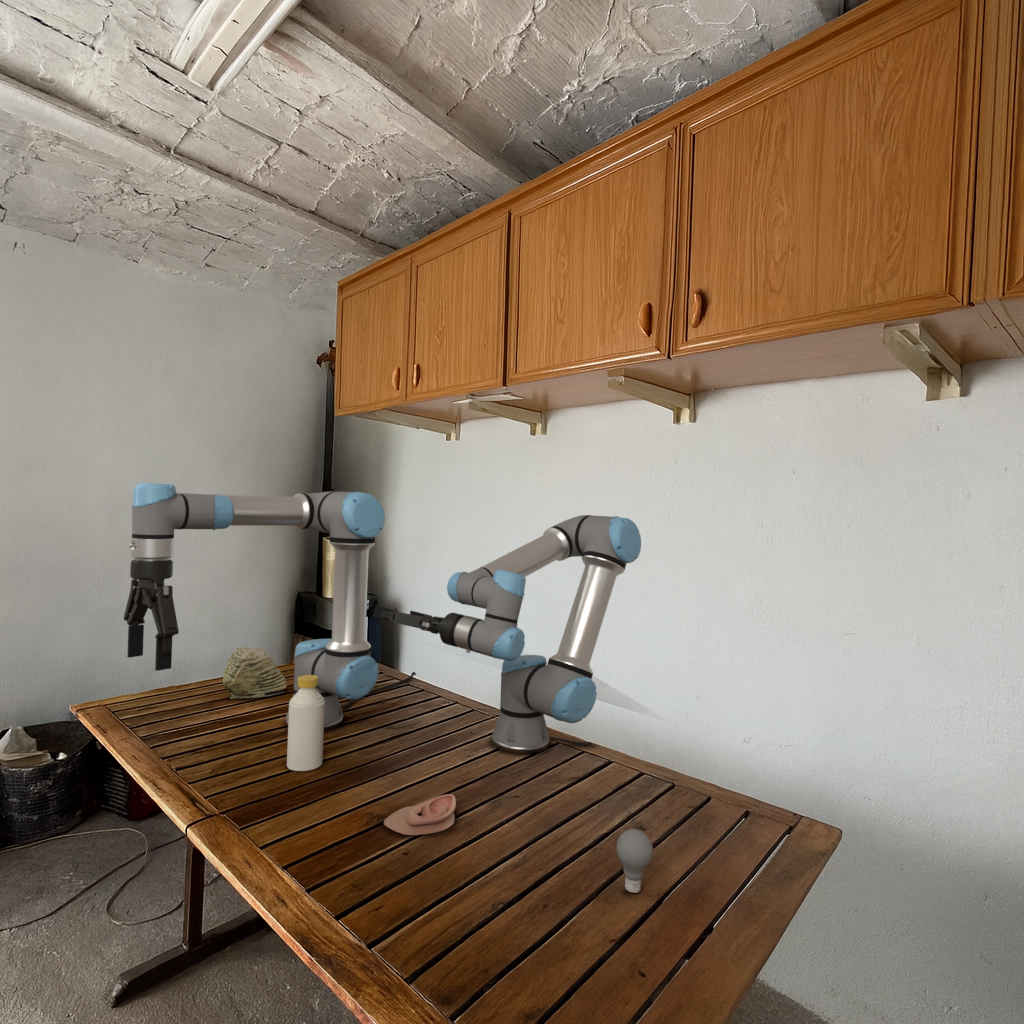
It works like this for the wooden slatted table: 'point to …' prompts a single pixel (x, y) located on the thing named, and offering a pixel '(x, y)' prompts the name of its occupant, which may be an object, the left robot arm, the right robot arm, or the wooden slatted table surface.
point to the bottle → (305, 730)
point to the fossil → (252, 674)
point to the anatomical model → (424, 816)
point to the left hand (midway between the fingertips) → (148, 662)
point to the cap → (307, 681)
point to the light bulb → (634, 857)
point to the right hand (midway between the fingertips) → (393, 613)
